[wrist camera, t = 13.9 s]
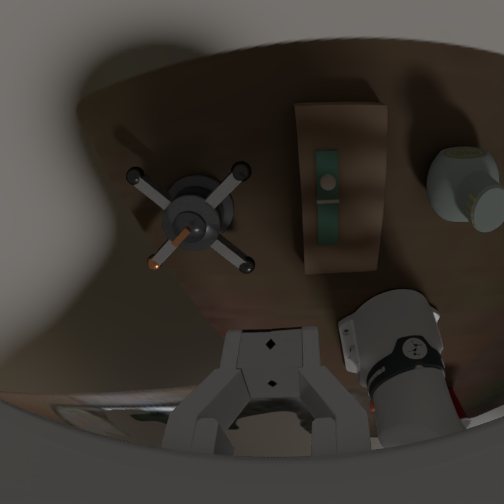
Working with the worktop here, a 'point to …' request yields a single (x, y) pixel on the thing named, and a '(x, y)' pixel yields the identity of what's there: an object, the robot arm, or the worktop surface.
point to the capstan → (194, 216)
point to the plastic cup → (459, 409)
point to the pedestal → (209, 184)
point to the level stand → (341, 183)
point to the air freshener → (466, 187)
